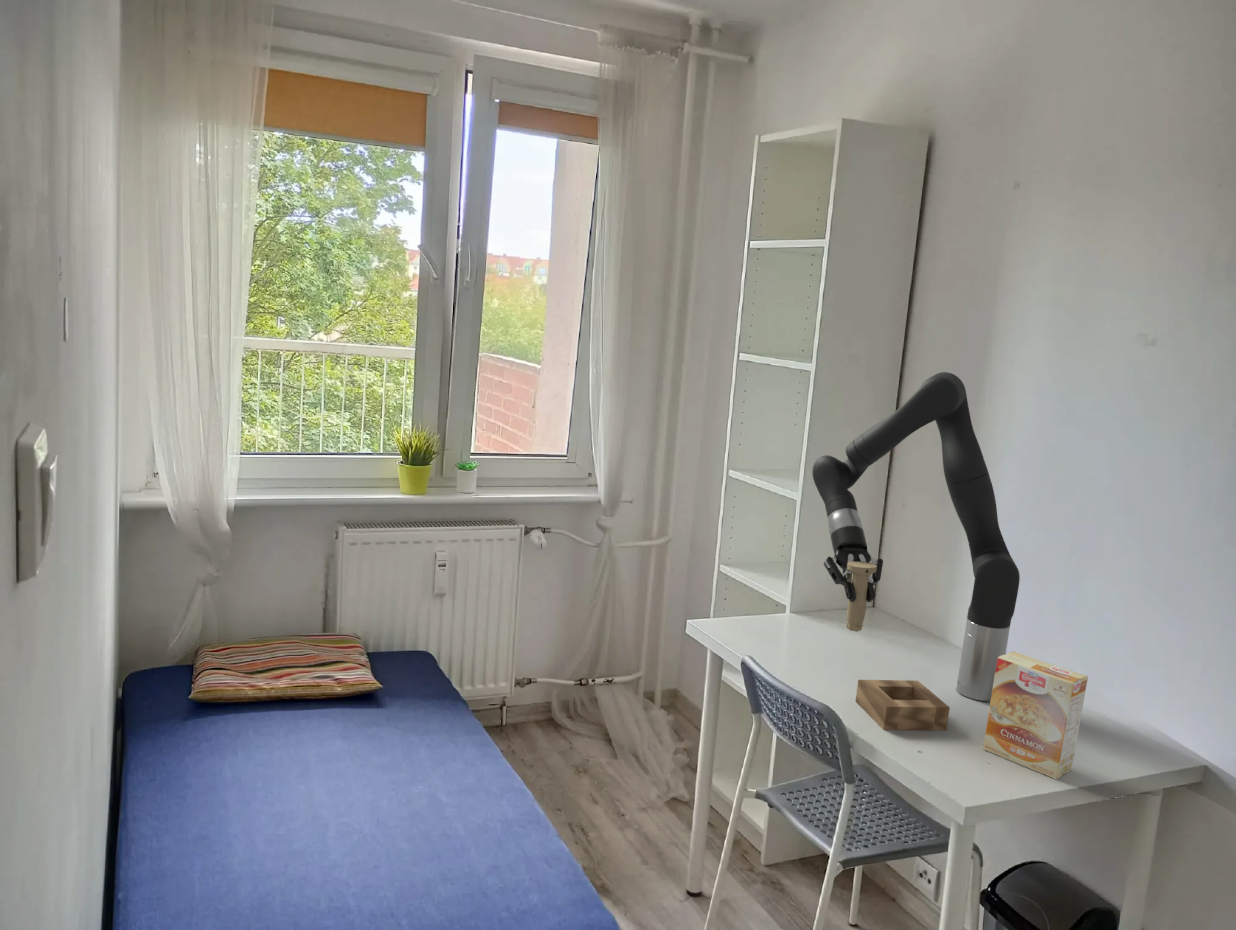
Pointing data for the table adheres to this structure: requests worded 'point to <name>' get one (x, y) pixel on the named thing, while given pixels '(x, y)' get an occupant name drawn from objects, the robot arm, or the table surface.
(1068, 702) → the coffeecake box
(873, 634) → the table surface
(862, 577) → the handle
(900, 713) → the socket block
